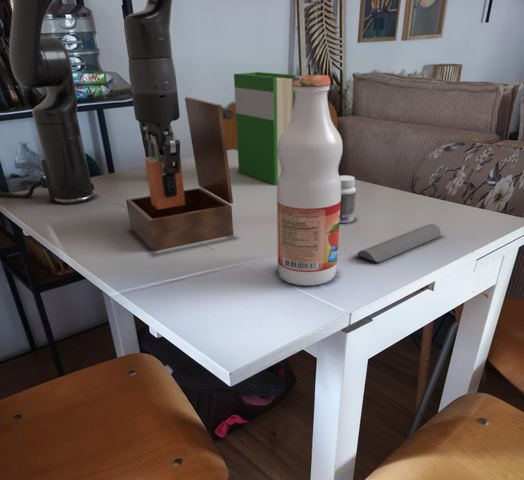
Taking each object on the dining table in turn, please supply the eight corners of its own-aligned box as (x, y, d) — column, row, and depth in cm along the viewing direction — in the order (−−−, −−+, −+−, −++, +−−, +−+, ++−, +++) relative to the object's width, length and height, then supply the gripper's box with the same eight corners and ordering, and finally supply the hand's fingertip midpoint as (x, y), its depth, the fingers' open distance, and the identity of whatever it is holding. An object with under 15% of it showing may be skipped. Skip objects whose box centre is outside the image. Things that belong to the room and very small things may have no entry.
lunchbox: (154, 255, 88) (149, 220, 85) (131, 231, 100) (125, 199, 96) (233, 238, 94) (231, 205, 91) (203, 217, 106) (200, 187, 102)
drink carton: (157, 209, 91) (151, 161, 86) (151, 204, 94) (144, 157, 89) (185, 205, 93) (180, 157, 88) (178, 200, 96) (173, 153, 91)
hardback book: (298, 179, 130) (299, 75, 117) (274, 184, 126) (273, 77, 113) (261, 167, 142) (258, 72, 129) (238, 171, 139) (233, 74, 126)
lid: (217, 105, 81) (245, 100, 83) (184, 97, 93) (209, 93, 94) (229, 203, 91) (254, 197, 92) (198, 185, 102) (221, 180, 104)
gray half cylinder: (442, 236, 93) (443, 226, 92) (374, 265, 82) (375, 254, 81) (422, 230, 95) (424, 221, 94) (354, 257, 85) (355, 247, 84)
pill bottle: (356, 217, 103) (359, 175, 98) (350, 224, 99) (353, 181, 95) (334, 215, 105) (336, 173, 100) (327, 221, 101) (329, 179, 97)
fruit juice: (271, 266, 83) (268, 75, 68) (325, 260, 85) (333, 72, 69) (286, 290, 75) (286, 80, 60) (345, 282, 77) (359, 77, 62)
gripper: (120, 87, 86) (136, 187, 96) (145, 94, 76) (159, 206, 85) (162, 84, 89) (173, 181, 99) (191, 91, 79) (200, 199, 88)
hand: (166, 192), depth 92 cm, fingers closed on drink carton, 4 cm apart
